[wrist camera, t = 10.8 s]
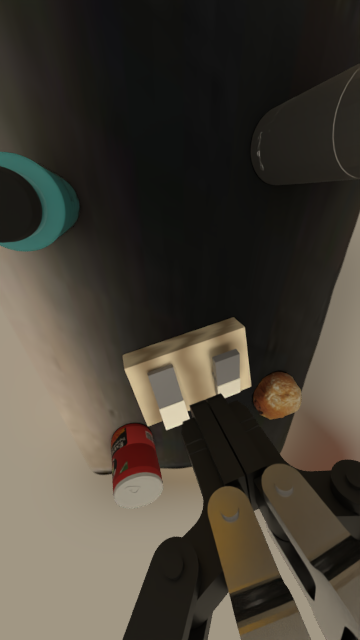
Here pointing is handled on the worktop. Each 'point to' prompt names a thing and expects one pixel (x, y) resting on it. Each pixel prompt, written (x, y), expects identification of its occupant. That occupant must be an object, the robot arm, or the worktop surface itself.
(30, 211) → the beverage bottle
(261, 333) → the worktop surface
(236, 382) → the switch
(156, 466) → the canned food
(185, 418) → the switch
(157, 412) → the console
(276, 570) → the robot arm
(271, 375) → the bread roll
